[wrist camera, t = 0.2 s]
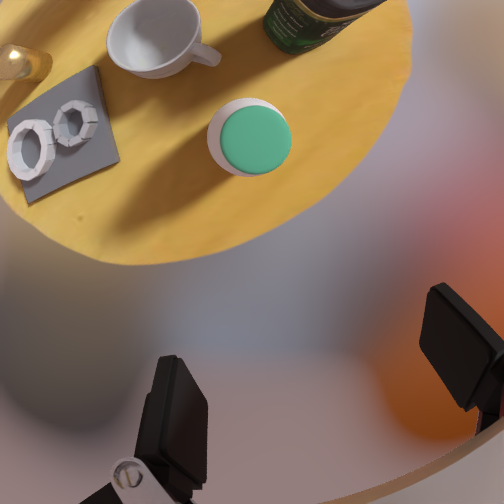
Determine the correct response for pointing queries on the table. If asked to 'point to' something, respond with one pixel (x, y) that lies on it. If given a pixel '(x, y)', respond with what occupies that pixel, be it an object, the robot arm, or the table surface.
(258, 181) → the table surface
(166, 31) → the teacup
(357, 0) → the coffee jar
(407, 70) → the table surface
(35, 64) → the gold cylindrical peg
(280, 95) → the table surface
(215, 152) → the milk bottle
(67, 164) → the collar board
